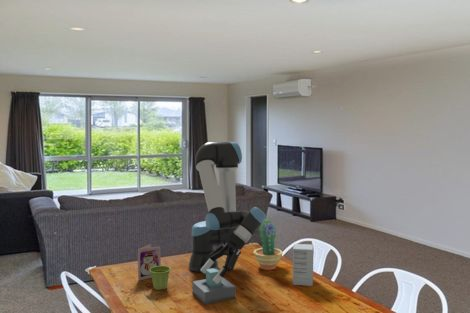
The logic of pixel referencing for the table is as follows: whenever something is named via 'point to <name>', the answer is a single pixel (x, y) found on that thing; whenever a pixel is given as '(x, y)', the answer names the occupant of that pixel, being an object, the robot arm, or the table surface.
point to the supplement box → (303, 264)
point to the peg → (212, 277)
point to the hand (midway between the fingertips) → (208, 276)
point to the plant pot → (160, 276)
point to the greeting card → (148, 260)
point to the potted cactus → (267, 246)
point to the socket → (213, 291)
